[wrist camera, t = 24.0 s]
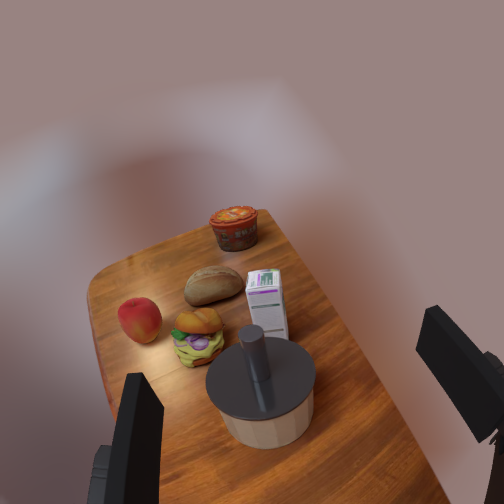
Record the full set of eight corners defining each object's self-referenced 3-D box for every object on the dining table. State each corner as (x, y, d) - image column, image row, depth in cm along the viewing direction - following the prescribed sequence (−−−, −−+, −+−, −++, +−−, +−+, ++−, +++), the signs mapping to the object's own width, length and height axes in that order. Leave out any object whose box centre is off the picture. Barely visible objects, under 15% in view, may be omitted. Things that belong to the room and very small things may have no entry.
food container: (205, 249, 99) (198, 219, 94) (236, 231, 110) (231, 203, 105) (240, 258, 89) (234, 225, 85) (271, 237, 100) (267, 207, 95)
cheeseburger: (165, 362, 53) (155, 317, 51) (196, 339, 63) (189, 297, 60) (207, 376, 49) (199, 328, 47) (236, 348, 58) (231, 304, 56)
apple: (169, 346, 58) (153, 309, 53) (128, 356, 56) (109, 320, 52) (167, 320, 66) (153, 285, 62) (130, 329, 64) (114, 295, 60)
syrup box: (289, 349, 53) (281, 285, 46) (257, 352, 53) (244, 288, 47) (288, 329, 58) (280, 267, 51) (259, 332, 58) (247, 270, 52)
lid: (326, 348, 40) (326, 301, 36) (296, 435, 28) (292, 395, 24) (235, 335, 46) (224, 290, 42) (188, 405, 34) (165, 362, 30)
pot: (322, 387, 43) (322, 348, 39) (296, 458, 32) (293, 429, 28) (246, 373, 49) (236, 335, 45) (210, 434, 38) (191, 400, 34)
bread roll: (250, 298, 70) (244, 269, 66) (189, 317, 66) (179, 288, 63) (239, 280, 78) (234, 253, 74) (184, 296, 75) (176, 269, 71)
